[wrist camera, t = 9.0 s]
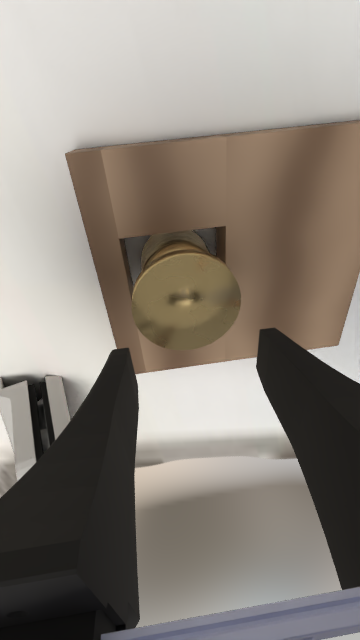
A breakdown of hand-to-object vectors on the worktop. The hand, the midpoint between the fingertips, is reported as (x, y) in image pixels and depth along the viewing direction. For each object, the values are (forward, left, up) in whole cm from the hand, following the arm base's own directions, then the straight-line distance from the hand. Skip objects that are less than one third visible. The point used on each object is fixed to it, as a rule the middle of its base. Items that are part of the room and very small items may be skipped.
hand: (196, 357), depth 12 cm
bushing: (0, 0, -9) cm, 9 cm away
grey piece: (+13, +16, -10) cm, 23 cm away
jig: (-4, 0, -9) cm, 10 cm away
